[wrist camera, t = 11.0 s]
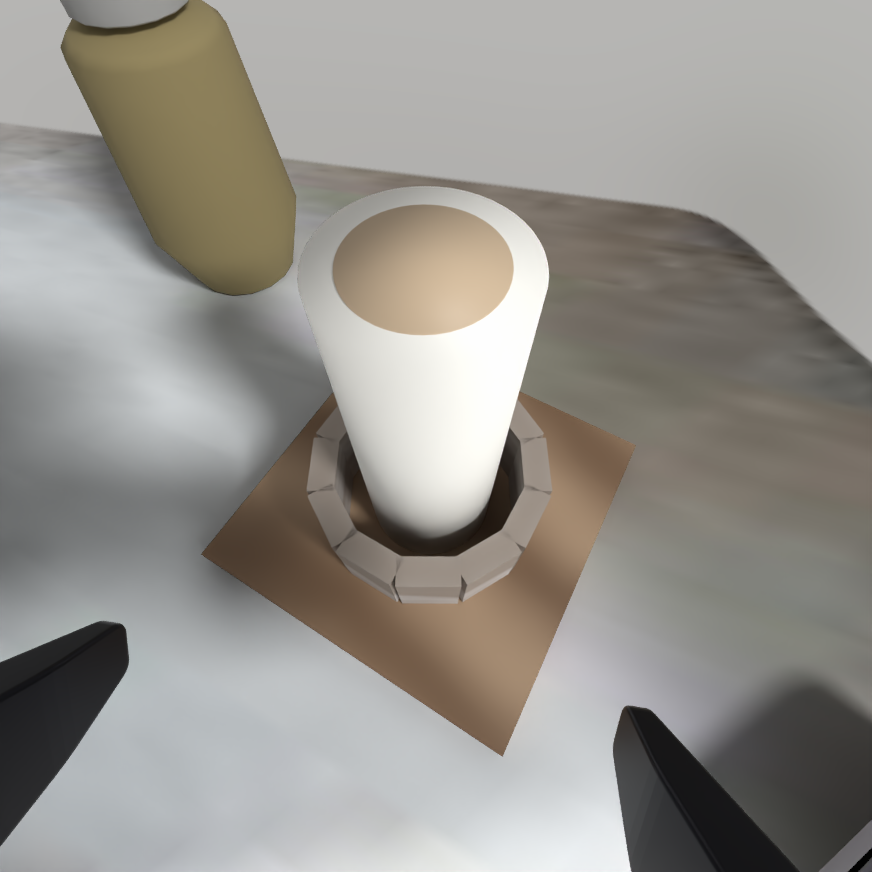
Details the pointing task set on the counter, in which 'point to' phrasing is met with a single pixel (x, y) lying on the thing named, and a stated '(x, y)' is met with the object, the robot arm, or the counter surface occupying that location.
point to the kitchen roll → (425, 348)
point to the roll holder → (433, 562)
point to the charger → (852, 853)
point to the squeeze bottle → (186, 136)
